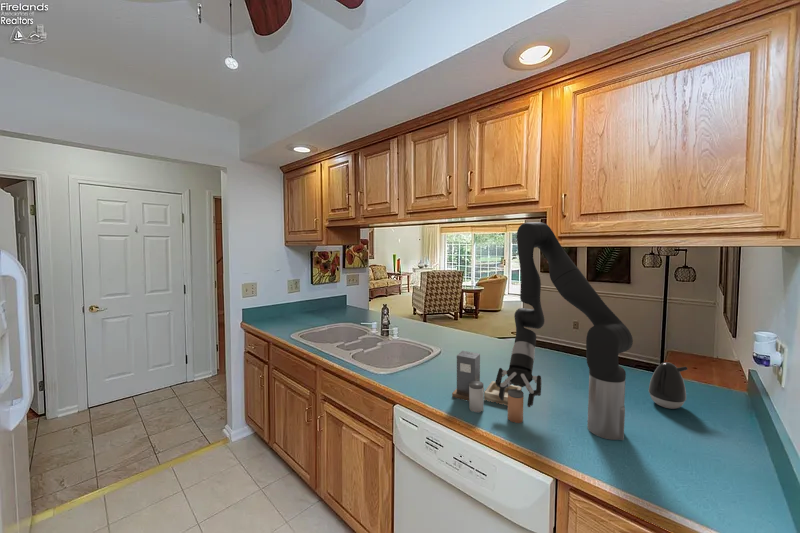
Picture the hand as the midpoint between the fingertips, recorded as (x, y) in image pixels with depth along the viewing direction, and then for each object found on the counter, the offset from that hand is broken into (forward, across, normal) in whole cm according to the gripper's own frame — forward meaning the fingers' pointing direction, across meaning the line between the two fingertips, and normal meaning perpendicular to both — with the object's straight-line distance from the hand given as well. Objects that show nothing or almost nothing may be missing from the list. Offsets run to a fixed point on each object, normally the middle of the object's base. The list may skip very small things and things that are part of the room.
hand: (515, 403), depth 107 cm
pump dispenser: (-21, +44, +29) cm, 57 cm away
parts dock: (-6, -7, +13) cm, 16 cm away
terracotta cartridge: (+4, 0, +4) cm, 6 cm away
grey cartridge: (+4, -13, +4) cm, 14 cm away
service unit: (-3, -19, +10) cm, 22 cm away
